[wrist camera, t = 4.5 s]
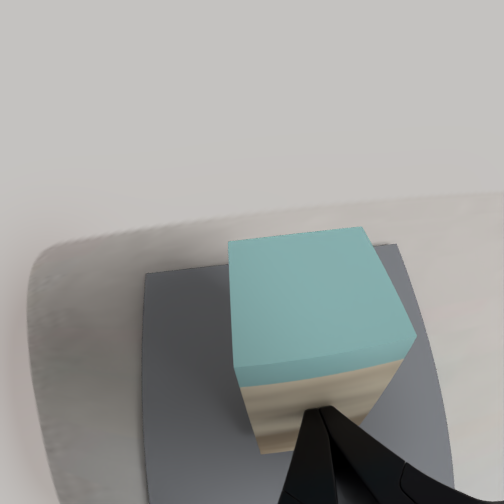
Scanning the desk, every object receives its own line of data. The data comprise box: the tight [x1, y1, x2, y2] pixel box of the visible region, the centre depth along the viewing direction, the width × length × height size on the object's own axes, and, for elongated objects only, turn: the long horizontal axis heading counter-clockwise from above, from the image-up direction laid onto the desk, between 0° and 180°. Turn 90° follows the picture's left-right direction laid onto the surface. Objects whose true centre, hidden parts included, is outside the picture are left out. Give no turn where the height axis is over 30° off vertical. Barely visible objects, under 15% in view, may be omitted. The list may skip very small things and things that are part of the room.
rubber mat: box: [142, 244, 455, 504], centre depth 14 cm, size 18×16×1 cm
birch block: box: [228, 227, 417, 454], centre depth 10 cm, size 4×4×9 cm
